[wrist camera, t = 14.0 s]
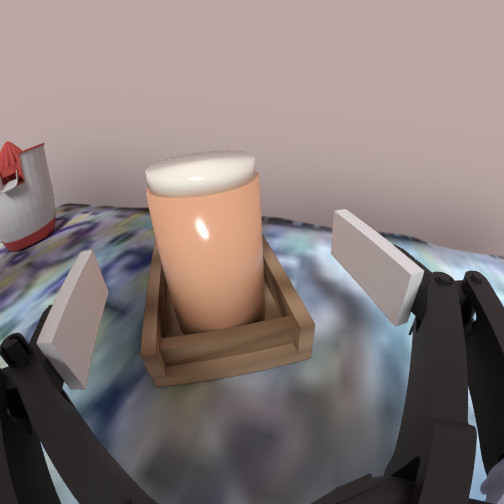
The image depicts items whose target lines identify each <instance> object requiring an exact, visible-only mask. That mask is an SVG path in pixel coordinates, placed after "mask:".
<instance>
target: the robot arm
mask: <svg viewBox="0 0 504 504" xmlns="http://www.w3.org/2000/svg"><path fill="white" fill-rule="evenodd" d="M331 254H332V255H333V257H334V258H335V259H336V260H337V261H338V262H339V263H340V264H341V265H342V266H343V268H344V269H345V270H346V271H347V272H348V273H349V274H350V275H351V276H352V278H353V279H354V280H355V281H356V282H357V283H358V284H359V286H360V287H361V288H362V289H363V290H364V291H365V292H366V294H367V295H368V296H369V297H370V298H371V299H372V300H373V302H374V303H375V304H376V305H377V306H378V307H379V309H380V310H381V311H382V312H383V313H384V315H385V316H386V317H387V318H388V319H389V321H390V322H391V323H392V324H393V325H394V327H396V326H398V325H401V324H403V323H406V322H407V321H408V319H409V316H410V313H411V312H412V313H413V314H414V315H415V316H416V317H415V319H414V322H413V325H412V327H411V329H410V332H409V335H411V333H412V332H413V339H412V352H411V362H410V371H409V379H408V387H407V393H406V400H405V406H404V411H403V416H402V422H401V426H400V431H399V436H398V440H397V444H396V448H395V452H394V454H393V457H392V458H391V460H390V462H389V464H388V466H387V468H386V470H385V473H384V476H382V477H374V478H372V476H371V474H368V475H366V476H363V477H361V478H359V479H357V480H354V481H352V482H350V483H347V484H345V485H342V486H340V487H337V488H336V489H334V490H333V491H331V492H330V493H328V494H326V495H325V496H323V497H322V498H320V499H318V500H317V501H315V502H313V503H312V504H504V307H503V305H502V303H501V302H500V300H499V298H498V297H497V295H496V293H495V292H494V290H493V288H492V287H491V285H490V284H489V282H488V280H487V279H486V278H485V277H484V276H483V275H482V274H481V273H479V272H477V271H467V272H466V273H465V276H464V279H463V280H459V281H454V279H453V278H452V277H451V276H449V275H448V274H446V273H443V272H433V273H432V272H431V271H429V270H428V269H427V268H426V267H425V266H423V265H422V264H421V263H420V262H419V261H417V260H415V258H414V257H413V256H411V255H410V254H409V253H408V252H406V251H405V250H404V249H402V248H400V247H398V246H396V245H392V244H391V243H390V242H389V241H387V240H386V239H385V238H383V237H382V236H381V235H380V234H378V233H377V232H376V231H374V230H373V229H372V228H370V227H369V226H368V225H366V224H365V223H364V222H362V221H361V220H360V219H358V218H357V217H356V216H354V215H353V214H351V213H350V212H349V211H347V210H346V209H344V210H336V211H334V222H333V235H332V247H331ZM108 293H109V292H108V289H107V287H106V284H105V282H104V279H103V277H102V274H101V271H100V268H99V266H98V263H97V260H96V257H95V254H94V251H93V250H88V251H83V252H80V254H79V256H78V258H77V259H76V261H75V263H74V265H73V266H72V268H71V270H70V272H69V274H68V276H67V278H66V280H65V281H64V283H63V285H62V287H61V289H60V291H59V293H58V295H57V297H56V299H55V301H54V304H53V305H49V306H48V308H47V309H46V310H45V311H44V312H43V314H42V316H41V318H40V320H39V322H38V325H37V327H36V328H37V329H35V331H34V334H33V336H32V338H31V341H30V343H29V344H28V343H27V341H26V340H25V338H24V337H23V335H22V334H20V333H14V334H11V335H9V336H8V337H7V338H6V339H5V340H4V341H3V342H2V344H1V346H0V355H1V357H2V358H3V359H4V360H5V362H6V363H7V364H8V366H9V367H6V368H3V369H0V504H61V502H60V500H59V497H58V495H57V492H56V490H55V487H54V485H53V482H52V479H51V476H50V473H49V470H48V467H47V464H46V461H45V457H44V454H43V451H42V447H41V443H42V445H43V447H44V449H45V451H46V452H47V454H48V456H49V458H50V460H51V461H52V463H53V465H54V466H55V468H56V470H57V471H58V473H59V475H60V476H61V478H62V479H63V481H64V482H65V484H66V485H67V487H68V488H69V490H70V491H71V493H72V494H73V496H74V497H75V498H76V500H77V501H78V503H79V504H157V503H156V502H155V501H154V500H153V499H152V498H151V497H150V496H149V495H147V494H146V493H145V492H144V491H143V490H142V489H141V488H140V487H139V486H138V485H137V484H136V483H135V482H134V481H133V480H132V478H131V477H130V476H129V475H128V474H127V473H126V472H125V471H124V470H123V469H122V468H121V467H120V465H119V464H118V463H117V462H116V461H115V460H114V458H113V457H112V456H111V455H110V454H109V453H108V451H107V450H106V449H105V448H104V446H103V445H102V444H101V443H100V441H99V440H98V439H97V437H96V436H95V435H94V433H93V432H92V431H91V429H90V428H89V427H88V425H87V424H86V422H85V421H84V420H83V418H82V417H81V415H80V414H79V412H78V411H77V409H76V408H75V406H74V405H73V403H72V402H71V400H70V398H69V397H68V395H67V394H66V392H65V391H64V390H63V389H62V387H63V383H64V382H65V383H66V384H67V385H68V387H69V388H70V389H86V386H87V380H88V374H89V369H90V364H91V359H92V355H93V350H94V346H95V341H96V337H97V333H98V329H99V325H100V321H101V317H102V314H103V310H104V306H105V303H106V299H107V296H108ZM475 312H476V320H475V321H474V319H473V316H474V314H475ZM468 387H469V391H470V395H471V399H472V404H473V408H474V413H475V418H476V424H477V429H478V436H479V442H480V449H481V455H482V461H483V464H484V468H485V472H486V474H487V479H486V480H484V481H483V482H482V484H481V487H480V490H481V493H482V494H484V495H487V496H486V500H485V502H484V501H479V500H475V499H470V498H469V494H470V489H471V483H472V477H473V470H474V462H475V453H476V441H477V432H476V428H475V426H472V425H469V424H468ZM40 441H41V443H40Z"/></svg>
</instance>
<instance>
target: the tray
mask: <svg viewBox="0 0 504 504" xmlns="http://www.w3.org/2000/svg"><path fill="white" fill-rule="evenodd" d="M262 242H263V264H264V287H265V311H266V315H265V320H264V321H262V322H257V323H252V324H247V325H241V326H236V327H231V328H225V329H219V330H214V331H208V332H202V333H196V334H189V335H184V334H183V332H182V331H181V329H180V326H179V323H178V320H177V316H176V313H175V310H174V306H173V303H172V299H171V296H170V292H169V289H168V285H167V282H166V278H165V274H164V270H163V267H162V263H161V259H160V255H159V251H158V246H157V242H156V238H155V244H154V250H153V255H152V261H151V268H150V274H149V281H148V288H147V295H146V303H145V311H144V320H143V330H142V340H141V352H140V357H141V359H142V361H143V362H144V364H145V366H146V368H147V370H148V372H149V374H150V376H151V377H152V379H153V381H154V383H155V385H156V386H157V387H164V386H173V385H181V384H188V383H195V382H202V381H208V380H215V379H220V378H226V377H232V376H237V375H242V374H247V373H252V372H257V371H261V370H266V369H270V368H274V367H279V366H283V365H287V364H291V363H295V362H298V361H302V360H306V359H310V358H311V352H312V344H313V337H314V329H315V323H314V321H313V320H312V318H311V316H310V314H309V313H308V311H307V309H306V308H305V306H304V304H303V302H302V301H301V299H300V297H299V295H298V294H297V292H296V290H295V289H294V287H293V285H292V283H291V282H290V280H289V278H288V277H287V275H286V273H285V271H284V270H283V268H282V266H281V265H280V263H279V261H278V260H277V258H276V256H275V254H274V253H273V251H272V249H271V248H270V246H269V244H268V243H267V241H266V239H265V238H264V236H263V234H262Z"/></svg>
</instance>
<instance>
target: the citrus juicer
mask: <svg viewBox="0 0 504 504" xmlns="http://www.w3.org/2000/svg"><path fill="white" fill-rule="evenodd" d="M43 145H44V143H43V144H40V145H37V146H34V147H31V148H29V149H26V150H24V151H22V150H21V149H20V148H18V147H17V146H16V145H14V144H13V143H11V142H6V143H5V144H4V146H3V147H2V149H1V152H0V239H1V241H2V243H3V244H4V245H5V246H6V247H7V249H8V250H10V251H14V252H16V251H19V250H20V249H23V248H26V247H28V246H30V245H32V244H34V243H36V242H38V241H39V240H42V239H44V238H46V237H47V236H48V234H49V233H50V232H51V231H52V230H53V229H54V227H55V205H54V194H53V189H52V185H51V180H50V176H49V171H48V167H47V162H46V157H45V151H44V146H43Z"/></svg>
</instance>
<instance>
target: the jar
mask: <svg viewBox="0 0 504 504" xmlns="http://www.w3.org/2000/svg"><path fill="white" fill-rule="evenodd" d="M146 177H147V183H148V187H147V189H146V196H147V201H148V206H149V211H150V216H151V220H152V225H153V229H154V234H155V238H156V242H157V246H158V251H159V255H160V259H161V263H162V267H163V270H164V274H165V278H166V282H167V285H168V289H169V292H170V296H171V299H172V303H173V306H174V310H175V313H176V316H177V320H178V323H179V326H180V329H181V331H182V332H183V334H184V335H189V334H196V333H202V332H208V331H214V330H219V329H225V328H231V327H236V326H241V325H247V324H252V323H257V322H262V321H264V320H265V315H266V311H265V287H264V264H263V242H262V221H261V201H260V184H259V183H260V182H259V174H258V173H257V172H256V171H255V157H254V155H253V154H251V153H247V152H242V151H211V152H201V153H194V154H188V155H183V156H179V157H174V158H171V159H167V160H164V161H161V162H159V163H156V164H154V165H152V166H150V167H149V168H147V169H146Z"/></svg>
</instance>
